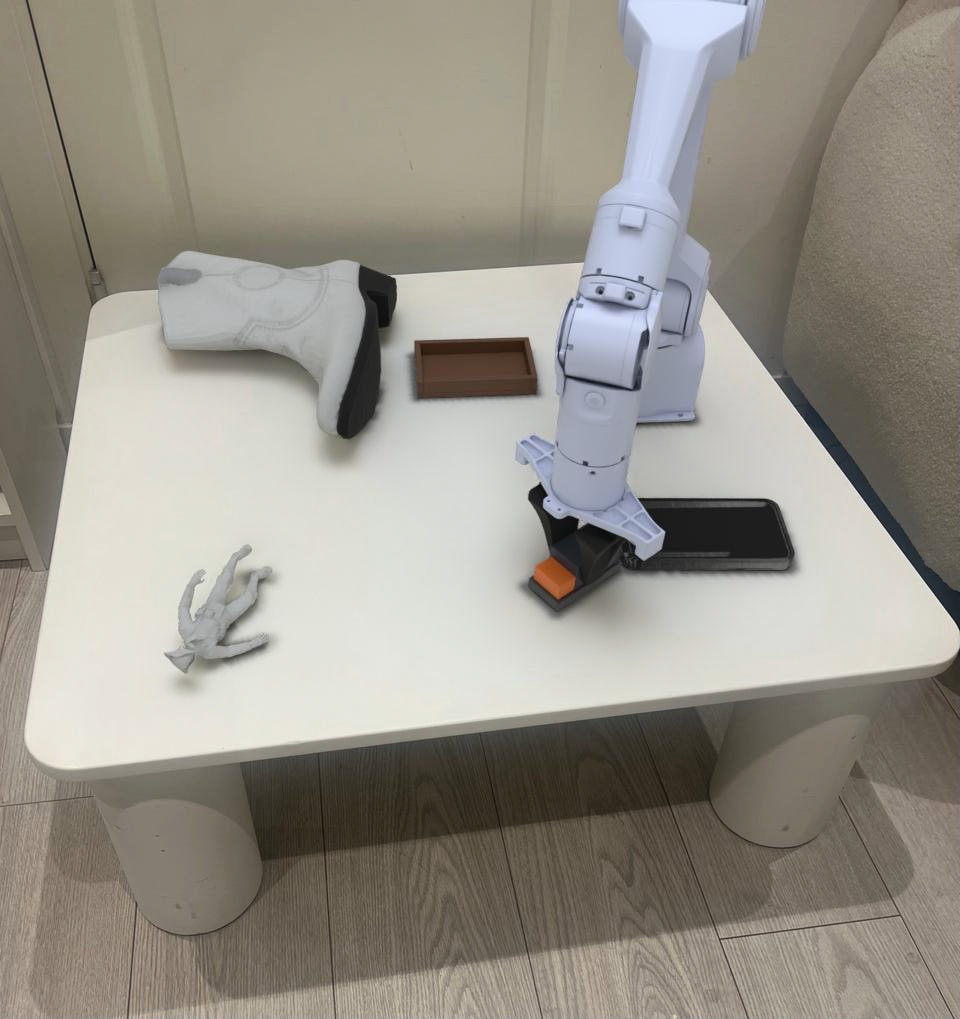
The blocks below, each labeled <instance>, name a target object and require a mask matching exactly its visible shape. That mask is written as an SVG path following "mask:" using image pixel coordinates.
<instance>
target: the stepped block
mask: <svg viewBox="0 0 960 1019" xmlns="http://www.w3.org/2000/svg"><path fill="white" fill-rule="evenodd" d="M589 524H590V523H587V522H586V523H584V524H583V525H582V526H580V527H578V529H577V530H575V531H574V532H572V533H571V534H569V535H567V536H566V537H564V538H563V539H561V540H559V541H558V542H556V543H555V544H553V545H552V546H551V552H550V553H549V557H547V558H546V559H544V560H543V561H541V562H540V563H538V564H536V565H535V566H534V573H533V575H532V576H529V578H528V585H527V586H528V587H529V589H531V590H532V591H533V592H534V593H536V594H537V595H538V596H539V598H541V599H542V600H543V601H545V602H546V603H547V604H548V605H549V606H550V607H551V608H552V609H554V610H555V611H556V612H559V611H560V610H562V609H563V608H565V607H567V606H568V605H570V604H571V603H573V602H574V601H576V600H577V599H579V598H580V597H581V596H582V595H585V594H586V593H588V592H589V591H590V590H592V589H593V588H595V587H596V586H598V585H600V584H601V583H602V582H604V581H605V580H607V579H608V578H610V577H612V576H613V575H614V574H616V573H617V572H619V571H620V570H621V569H622V565H623V564H622V561H621V559H620V550H621V547H620V548H619V549H618V551H617V552H616V553H615V555H614V556H613V558H612V559H611V561H610V563H609V565H608V567H607V569H606V571H605V573H604V575H603V576H602V577H600V578H599V579H597V580H596V581H594V582H593V583H591V584H590V585H588V586H586V585H585V584H584V583H582V582H581V577H580V568H581V551H580V546H579V543H578V541H577V539H576V537H575V533H576V532H577V531H579V530H581V529H582V528H584V527H585V526H587V525H589Z"/></svg>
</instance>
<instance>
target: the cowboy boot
mask: <svg viewBox="0 0 960 1019" xmlns="http://www.w3.org/2000/svg"><path fill="white" fill-rule="evenodd" d="M156 285H157V306H158V310H159V314H160V318H161V322H162V329H163V340H164V345H165V348H166V349H169V350H182V351H220V352H221V351H223V352H224V351H227V352H228V351H253V350H263V351H267V352H271V353H275V354H278V355H282V356H285V357H287V358H289V359H290V360H293V361H295V362H297V363H299V365H300V366H302V367H303V368H304V369H305V370H306V372H308V373H309V374H310V375H311V377H312V378H313V379H314V380H315V381H316V383H317V384H318V396H317V402H316V412H315V416H316V422H317V427H318V428H319V430H321V431H322V432H323V433H325V434H328V435H331V436H339V437H340V438H341V439H343V440H350V441H351V440H352V439H354V438H355V437H357V436H358V434H359V433H360V432H361V431H362V430H363V429H364V428H365V426H366V425H367V424H368V423H369V421H370V419H371V418H372V417H373V414H374V412H375V411H376V407H377V405H378V399H379V393H380V386H381V376H382V350H381V349H382V348H381V336H380V335H381V334H380V329H383V328H388V327H390V325H391V322H392V321H393V316H394V313H395V310H396V306H397V301H398V291H397V290H398V284H397V278H396V277H393V276H391V275H389V274H386V273H384V272H380V271H378V270H375V269H373V268H370V267H367V266H365V265H362V264H361V263H360V262H357V261H353V260H349V259H338V260H334V261H332V262H328V263H325V264H321V265H312V266H301V267H296V268H284V267H282V266H278V265H274V264H270V263H265V262H258V261H253V260H249V259H242V258H238V257H237V258H236V257H231V256H222V255H218V254H217V255H216V254H209V253H206V252H205V253H204V252H198V251H194V250H185V251H181V252H180V253H179V254H177V255H176V257H174V258H173V259H172V260H171V261H169V263H168V264H167V265H166V266H165V267H162V268H161V270H160V271H159V275H158V277H157V284H156Z"/></svg>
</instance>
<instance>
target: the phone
mask: <svg viewBox="0 0 960 1019" xmlns="http://www.w3.org/2000/svg"><path fill="white" fill-rule="evenodd" d="M637 498H638V500H639V501H640V503H641V504H642V506H643V507H644V509H645V510H646V511H647V513H648V514H649V516H650V517H651V518H652V520H653V521H654V522H655V523H656V524H657V525H658V526H659V527H660V528H661V529H662V530H664V531H665V536H664V540H663V544H662V549H661V550H659V551H658V552H656V553H655V554H654V555H652V556H651V557H649V558H648V559H646V560H642V559H641V558H640V557H638V556H637V555H636V554H635V549H636V546H635V545H634V544H633V543H631V542H630V541H629V540H626V541H625V542H624V544H623V545H622V546H621V550H620V555H619V560H621V561H622V564H621V565H623V567H626V568H627V569H630V570H638V571H639V570H640V571H643V570H644V571H647V570H649V571H650V570H651V571H654V570H657V571H660V570H661V571H663V570H664V571H665V570H667V571H673V570H674V571H675V570H677V571H679V570H680V571H681V570H683V571H686V570H687V571H690V570H691V571H692V570H693V571H694V570H696V571H698V570H699V571H704V570H705V571H707V570H708V571H709V570H710V571H711V570H713V571H717V570H718V571H722V570H723V571H728V570H731V571H736V570H737V571H740V570H741V571H743V570H744V571H754V570H755V571H758V570H759V571H760V570H761V571H766V570H767V571H770V570H771V571H773V570H774V571H781V570H787V569H789V568H790V567H791V566H792V563H793V560H794V558H795V554H796V553H795V549H794V546H793V543H792V540H791V537H790V533H789V531H788V528H787V525H786V522H785V518H784V517H783V513H782V510H781V507H780V505H779V504H778V503H777V502H776V501H774V500H773V499H769V498H766V497H765V498H764V497H762V498H761V497H755V498H754V497H753V498H752V497H637Z"/></svg>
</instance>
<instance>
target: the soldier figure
mask: <svg viewBox="0 0 960 1019" xmlns="http://www.w3.org/2000/svg"><path fill="white" fill-rule="evenodd" d="M252 550H253V547H252V546H251V545H250V544H248V543H247V544H244V545H242V547H241V548H240V549H239V550H237V551H236V552H235V551H234V553H232V555H231V557H230V559H229V560H228V562H227V563H226V564H225V565H224V567H223V568H222V571H221V573H220V574H219V575H218V576H217V577H216V581H215V584H214V586H213V587H212V589H211V590H210V593H209V594H208V597H207V598H206V600H205V603H203V604H202V605H201V606H200V607H199V608H198V609H197V610H196V612H195V613H194V616H193V618H194V620H193V618H192V615H191V612H190V610H191V608H192V603H193V599H194V594H195V590H196V589H195V588H196V586H198V585H201V584H202V583H204V582H205V580H206V579H202V578H203V577H204V576H205V575H206V574H207V571H206V569H204V568H201V569H198V570H197V571H196V572H195V573H193V574H192V576H191V579H190V580H189V582H188V584H186V586H185V589H184V591H183V594H182V596H181V599H180V601H179V605H178V607H177V611H178V612H177V619H178V622H177V624H178V630H177V631H178V633H179V635H180V636H181V639H182V643H183V646H182V645H179V647H178V648H177V649H176V650H172V651H166V652H163V655H164V657H166V658H167V659H168V660H169V661H170V663H171V664H172V665H173V666H174V667H176V668H177V669H178V670H180V671H181V672H182V673H183V674H185V675H186V674H188V673H189V670H190V666H192V665H193V664H194V663H195V662H196V660H197V656H200V657H202V658H203V659H206V660H210V659H211V660H213V659H214V660H216V659H224V658H231V657H234V656H238V655H241V654H244V653H246V652H249V651H251V650H252V649H254V648H256V647H259V646H262V645H263V644H265V643H267V642H268V641H269V640H270V638H269V635H268V634H267V633H264V632H262V633H261V634H259V635H258V636H256V637H255V638H254V639H252V640H251V641H244V642H240V643H236V644H230V645H226V646H224V645H220V644H219V645H218V642H220V641H222V640H223V639H224V637H225V636H226V634H227V629H229V627H230V625H231V624H233V623H234V622H235V621H236V620H237V619H238V618H239V617H241V616H242V615H243V614H245V612H246V611H247V610H248V609H249V608H250V607H251V606H252V605H254V604H255V602H256V600H258V597H259V592H258V585H259V581H260V580H262V579H265V578H267V577H270V576H271V574H272V573H273V571H274V570H273V568H272V567H271V566H269V565H266V566H263V567H262V568H261V569H260V570H258V571H253V572H251V574H250V575H249V581H248V584H247V586H246V588H245V590H244V591H243V594H242V595H239V596H238V597H237V598H236V599H235V600H233V601H232V602H230V603H227V601H228V600H227V599H228V594H229V591H230V590H231V588H232V586H233V583H234V580H235V577H234V576H235V571H236V568H237V565H238V562H240V561H241V560H243V559H244V558H246V557H247V556H249V555H250V554H251V553H252ZM201 579H202V580H201Z"/></svg>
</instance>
